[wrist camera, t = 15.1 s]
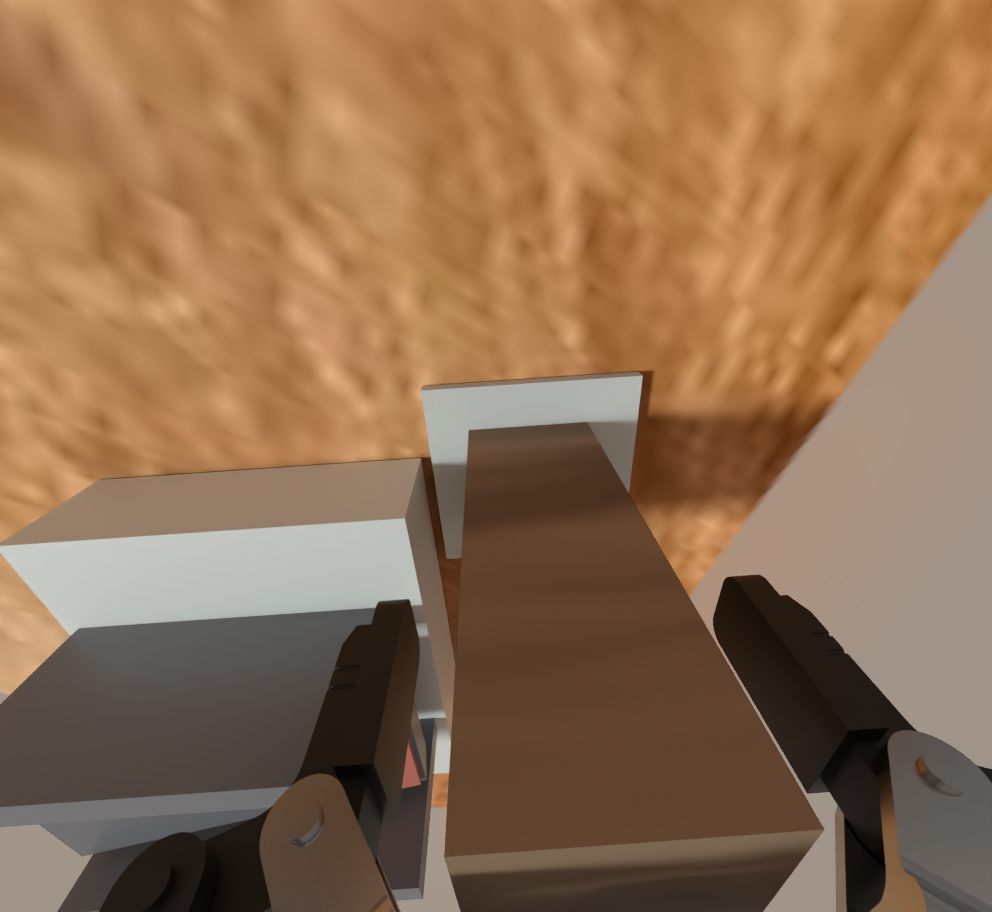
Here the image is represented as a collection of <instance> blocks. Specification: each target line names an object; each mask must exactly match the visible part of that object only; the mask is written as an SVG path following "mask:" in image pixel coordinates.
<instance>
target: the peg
mask: <svg viewBox="0 0 992 912" xmlns="http://www.w3.org/2000/svg"><path fill="white" fill-rule="evenodd" d="M823 831H824V828H823V826H822V825H821V823H820V821H819V819H818V818H817V816H816V814H815V813H814V811H813V809H812V807H811V806H810V804H809V802H808V800H807V799H806V797H805V795H804V794H803V792H802V790H801V789H800V787H799V785H798V783H797V782H796V780H795V778H794V776H793V775H792V773H791V771H790V770H789V768H788V766H787V764H786V763H785V761H784V759H783V758H782V756H781V754H780V752H779V751H778V749H777V747H776V746H775V744H774V742H773V741H772V739H771V737H770V735H769V733H768V732H767V730H766V729H765V727H764V725H763V723H762V722H761V720H760V718H759V716H758V715H757V713H756V711H755V709H754V708H753V706H752V705H751V703H750V701H749V699H748V697H747V696H746V694H745V692H744V691H743V689H742V687H741V686H740V684H739V682H738V680H737V679H736V677H735V675H734V673H733V672H732V670H731V669H730V667H729V665H728V663H727V661H726V660H725V658H724V656H723V655H722V653H721V651H720V649H719V648H718V646H717V644H716V643H715V641H714V639H713V637H712V636H711V634H710V632H709V630H708V629H707V627H706V625H705V624H704V622H703V620H702V618H701V617H700V615H699V613H698V612H697V610H696V608H695V606H694V605H693V603H692V601H691V599H690V598H689V596H688V594H687V593H686V591H685V589H684V587H683V586H682V584H681V582H680V581H679V579H678V577H677V575H676V574H675V572H674V570H673V569H672V567H671V565H670V563H669V562H668V560H667V558H666V557H665V555H664V553H663V551H662V550H661V548H660V546H659V544H658V543H657V541H656V539H655V538H654V536H653V534H652V532H651V531H650V529H649V527H648V526H647V524H646V522H645V520H644V519H643V517H642V515H641V514H640V512H639V510H638V508H637V507H636V505H635V503H634V502H633V500H632V498H631V496H630V495H629V493H628V491H627V490H626V488H625V486H624V484H623V483H622V481H621V479H620V477H619V476H618V474H617V472H616V471H615V469H614V467H613V465H612V464H611V462H610V460H609V459H608V457H607V455H606V453H605V452H604V450H603V448H602V447H601V445H600V443H599V441H598V440H597V438H596V436H595V435H594V433H593V431H592V429H591V428H590V426H589V424H588V423H587V422H578V423H564V424H549V425H535V426H521V427H507V428H492V429H478V430H469V433H468V450H467V468H466V486H465V503H464V521H463V538H462V556H461V573H460V591H459V609H458V626H457V644H456V661H455V679H454V696H453V714H452V732H451V749H450V767H449V784H448V802H447V820H446V838H445V855H444V858H445V861H446V864H447V867H448V871H449V874H450V877H451V881H452V884H453V888H454V891H455V894H456V898H457V901H458V904H459V908H460V911H461V912H763V911H764V909H765V908H766V907H767V905H768V904H769V903H770V901H771V900H772V899H773V897H774V896H775V895H776V893H777V892H778V891H779V889H780V888H781V887H782V885H783V884H784V883H785V881H786V880H787V879H788V877H789V876H790V875H791V873H792V872H793V871H794V869H795V868H796V867H797V865H798V864H799V863H800V861H801V860H802V859H803V857H804V856H805V854H806V853H807V852H808V851H809V849H810V848H811V847H812V845H813V844H814V843H815V841H816V840H817V839H818V837H819V836H820V835H821V833H822V832H823Z"/></svg>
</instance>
